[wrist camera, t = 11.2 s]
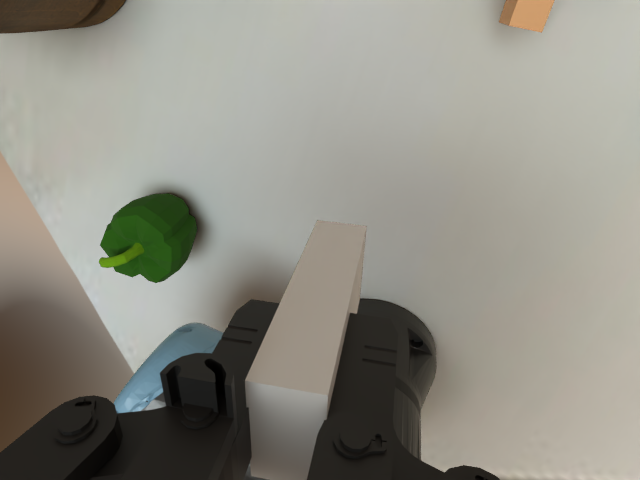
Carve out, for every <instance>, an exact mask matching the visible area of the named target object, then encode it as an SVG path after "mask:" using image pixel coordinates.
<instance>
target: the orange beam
mask: <svg viewBox="0 0 640 480" xmlns="http://www.w3.org/2000/svg"><path fill="white" fill-rule="evenodd" d="M553 3H554V0H506V2H505V5H504V8H503V11H502V14H501V17H500V20H499V22H500V23H503V24H506V25H509V26H514V27H518V28H523V29H528V30H533V31H537V32H542V31H543V28H544V26H545V23H546V21H547V18H548V16H549V13H550V11H551V8H552V5H553Z"/></svg>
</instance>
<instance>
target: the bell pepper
mask: <svg viewBox="0 0 640 480" xmlns="http://www.w3.org/2000/svg"><path fill="white" fill-rule="evenodd" d="M196 232H197V226H196V220H195V217H193V216H191V215H189V208H188V207H187V205H186V204H185V202H184V201H183V199H181V198H178V197H176V196H174V195H171V194H169V193H166V194H153V195H149V196H145V197H142V198H139V199H136V200H134V201H132V202H130V203H129V204H127V205H126V206H124V207H123V208H121V209H120V210H119V211H118V212H117V213H116V214H115V215H114V216H113V219H112V221H111V223H110V224H108V225H107V228H106V231H105V234H104V236H103V239H102V241H101V244H100V246H101V247H102V248H103V250H104V251H105V252H106V253H107V255H108V256H109V257H108V258H101V259H100V260H99V263H100V265H101V267H106V268H109V267H114V269H115V271H116V272H119V273H122V274H125V275H128V276H131V277H134V276H136V275H138V274H141V275H142V276H144V277H145V278H146V279H147V280H148V281H151V282H155V283H158V282H161V281H164V280H166V279H167V278H168V277H170V276H171V275H173V274H174V273H175V272H177V271H178V270H179V269H180V268H181V267H182V266H183V264H184V263H185V262H186V261H187V259H188V257H189V254H190V252H191V249H192V246H193V242H194V239H195V236H196Z"/></svg>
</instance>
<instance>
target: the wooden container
mask: <svg viewBox="0 0 640 480" xmlns="http://www.w3.org/2000/svg"><path fill="white" fill-rule="evenodd" d="M124 2H125V0H0V33H22V32H37V31H48V30H58V29H69V28H80V27H88V26H92V25H96V24H99V23H101V22H103V21H105V20H107V19H108V18H110V17H111V16H112V15H113V14H115V13H116V12H117V11H118V10H119V8H120V7H121V6H122V5H123V3H124Z"/></svg>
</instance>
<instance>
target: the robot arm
mask: <svg viewBox="0 0 640 480" xmlns="http://www.w3.org/2000/svg"><path fill="white" fill-rule="evenodd" d="M366 227H367V226H362V225H354V224H345V223H337V222H328V221H320V220H317V222H316V224H315V227H314V229H313V231H312V233H311V235H310V238H309V240H308V242H307V244H306V247H305V249H304V251H303V253H302V255H301V258H300V260H299V262H298V264H297V266H296V269H295V271H294V273H293V275H292V277H291V280H290V282H289V284H288V286H287V289H286V291H285V293H284V295H283V297H282V300H281V302H280V304H278V303H272V302H265V301H258V300H250V301H249V302H248V303H246V304H245V305H244V306H242V307H241V308H240V309H238V310H237V311H236V313H235V314H234V316H233V318H232V320H231V321H230V323H229V325H228V328H226V330H225V332H224V333H222V332H220V331H217V330H215V329H213V328H211V327H209V326H207V325H204V324H201V323H189V324H186V325H183V326H182V327H180V328H178V329H177V330H175V331H174V332H173V333H172V334H171V335H169V336H168V337H167V338H166V339H165V340H164V341H163V342H162V343H161V344H160V345H159V346H158V347H157V348H156V349H155V350H154V352H153V353H152V354H151V355H150V356H149V357H148V358H147V359H146V361H145V362H144V363H143V364H142V365H141V366H140V368H139V369H138V370H137V371H136V373H135V374H134V375H133V376H132V378H131V379H130V380H129V382H128V383H127V384H126V386H125V387H124V388H123V390H122V391H121V393H120V394H119V395H118V397H117V398H116V400H115V402H114V404H113V403H112V402H111V401H109V400H108V399H107V398H103V397H99V396H85V397H78V398H76V399H73V400H70V401H68V402H65V403H63V404H61V405H60V406H58V407H57V408H55V409H54V410H52V411H51V412H49V413H48V414H47V415H46V416H44V417H43V418H42V419H41V420H40V421H38V422H37V423H36V424H35V425H33V427H31V428H30V429H29V430H27V431H26V432H25V433H24V434H22V435H21V436H20V437H19V438H18V439H16V440H15V441H14V442H13V443H11V444H10V445H9V446H8V447H7V448H5V449H4V450H3V451H2V452H0V480H500V479H499V478H498V477H496V476H495V475H493V474H491V473H489V472H487V471H485V470H483V469H481V468H477V467H471V466H464V465H463V466H459V467H454V468H450V469H448V470H447V471H446V472H445V473H444V472H442V471H440V470H438V469H436V468H434V467H432V466H430V465H428V464H426V463H424V462H423V461H421V421H420V410H421V408H422V406H423V403H424V401H425V399H426V396H427V394H428V392H429V389H430V387H431V385H432V383H433V380H434V377H435V373H436V349H435V344H434V341H433V338H432V336H431V334H430V332H429V331H428V329H427V328H426V326H425V325H424V324H423V323H422V322H421V321H420V320H419V319H418V318H417V317H416V316H414V315H413V314H412V313H410V312H408V311H407V310H405V309H403V308H401V307H399V306H396V305H394V304H391V303H388V302H384V301H379V300H370V299H360V290H361V279H362V269H363V258H364V248H365V237H366Z"/></svg>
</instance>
